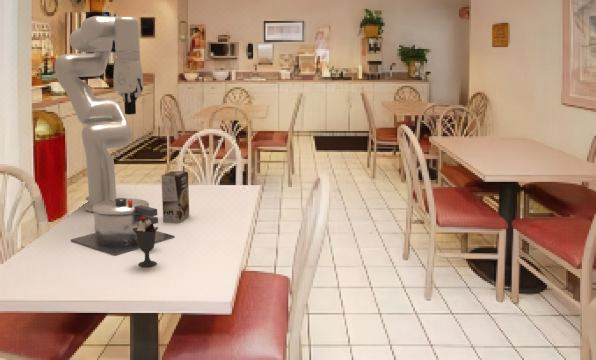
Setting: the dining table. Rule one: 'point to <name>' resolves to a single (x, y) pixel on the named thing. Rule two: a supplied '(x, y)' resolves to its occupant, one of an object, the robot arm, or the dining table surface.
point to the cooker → (117, 233)
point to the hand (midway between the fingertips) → (130, 114)
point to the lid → (124, 207)
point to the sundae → (146, 239)
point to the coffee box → (175, 196)
